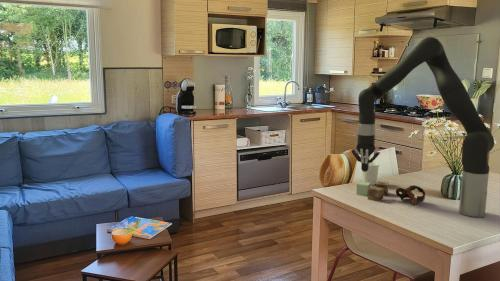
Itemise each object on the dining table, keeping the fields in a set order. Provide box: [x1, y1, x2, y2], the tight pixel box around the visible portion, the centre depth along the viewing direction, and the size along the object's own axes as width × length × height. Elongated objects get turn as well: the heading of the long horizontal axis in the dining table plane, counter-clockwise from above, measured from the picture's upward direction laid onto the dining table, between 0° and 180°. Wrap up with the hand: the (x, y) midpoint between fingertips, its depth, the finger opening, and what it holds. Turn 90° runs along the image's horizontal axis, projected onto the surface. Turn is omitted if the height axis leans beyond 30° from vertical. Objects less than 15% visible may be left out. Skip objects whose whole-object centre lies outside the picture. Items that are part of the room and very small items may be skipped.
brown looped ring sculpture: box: [395, 185, 426, 206], centre depth 191 cm, size 12×10×8 cm
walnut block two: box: [367, 185, 384, 202], centre depth 195 cm, size 5×5×5 cm
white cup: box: [361, 161, 380, 186], centre depth 220 cm, size 8×8×10 cm
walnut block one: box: [375, 180, 389, 197], centre depth 203 cm, size 5×5×5 cm
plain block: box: [355, 180, 372, 197], centre depth 203 cm, size 5×5×5 cm
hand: (364, 171), depth 201 cm, fingers closed
